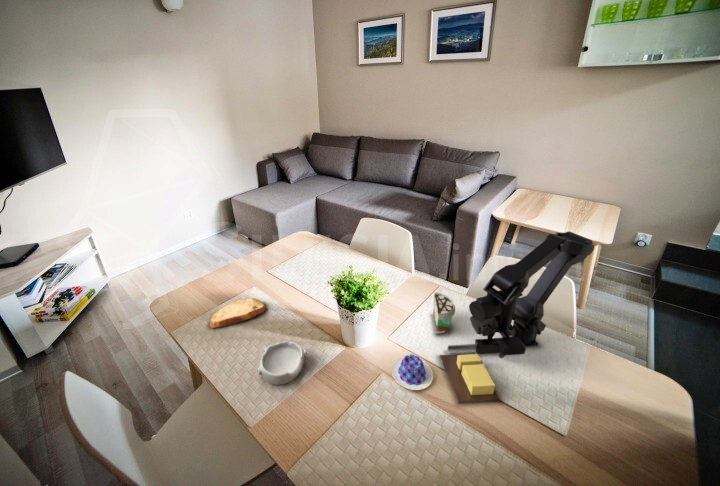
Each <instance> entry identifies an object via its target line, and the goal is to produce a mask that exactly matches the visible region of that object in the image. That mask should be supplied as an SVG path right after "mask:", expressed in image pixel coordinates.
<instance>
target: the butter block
mask: <svg viewBox="0 0 720 486" xmlns="http://www.w3.org/2000/svg"><path fill="white" fill-rule="evenodd" d="M461 374H462V376H463V378H464V380H465V383H466V385H467V387H468V389H469V391H470V393H471V395H483V394H493V392H494V389H495V388H496V384H495V383H494V381H493V379H492V377H491V375H490V374H489V371H488V370H487V368H486V366H485V364H484V363H481V364H477V365H463V366H462V373H461Z"/></svg>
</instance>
